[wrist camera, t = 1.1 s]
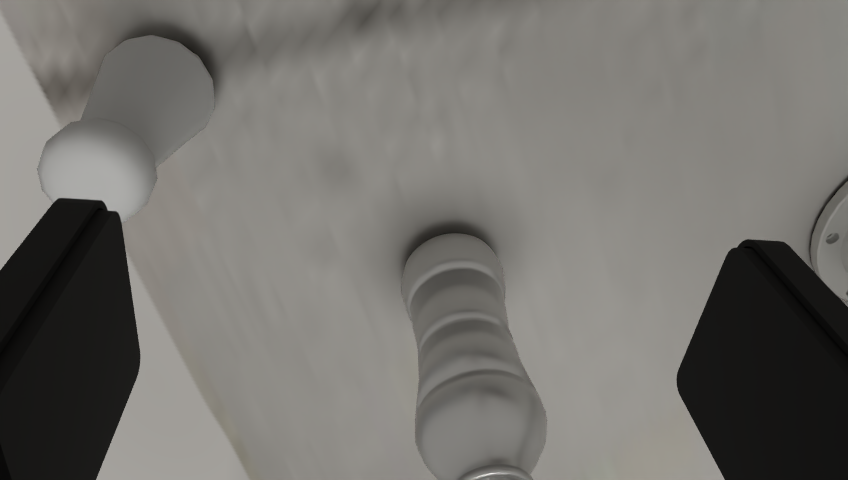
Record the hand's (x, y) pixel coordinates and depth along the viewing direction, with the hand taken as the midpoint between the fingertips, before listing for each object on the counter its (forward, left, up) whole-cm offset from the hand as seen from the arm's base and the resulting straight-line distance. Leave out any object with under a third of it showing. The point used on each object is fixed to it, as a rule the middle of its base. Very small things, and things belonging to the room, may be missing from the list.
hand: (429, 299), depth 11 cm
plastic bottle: (-3, +19, -29) cm, 35 cm away
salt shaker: (+12, +5, -29) cm, 32 cm away
